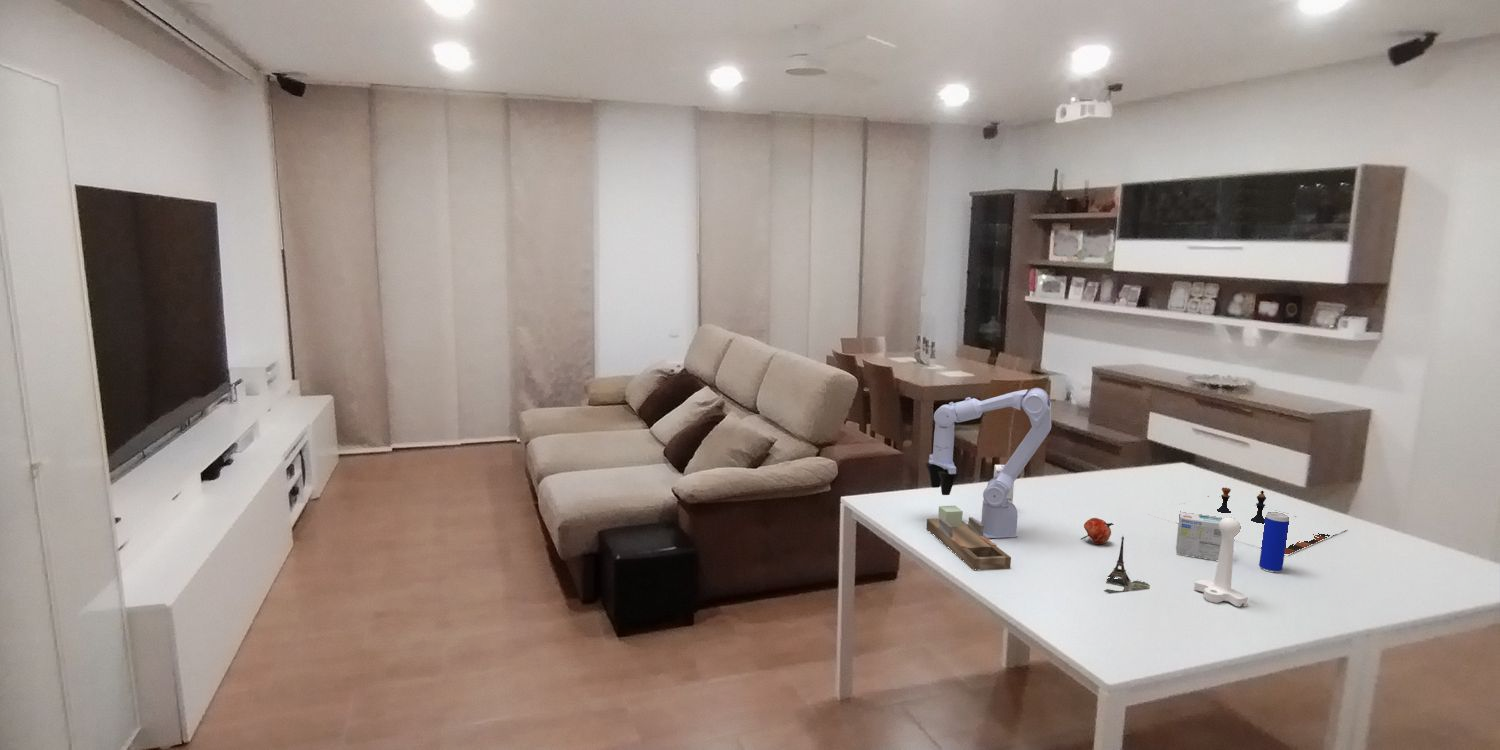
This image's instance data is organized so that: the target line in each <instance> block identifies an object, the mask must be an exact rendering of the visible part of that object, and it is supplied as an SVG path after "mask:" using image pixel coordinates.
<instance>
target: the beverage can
mask: <svg viewBox="0 0 1500 750" xmlns="http://www.w3.org/2000/svg"><path fill="white" fill-rule="evenodd" d="M1283 513H1284V512H1283ZM1283 513H1278V512H1268V513H1267V515H1266V517H1265V525H1264V532H1263V540H1262V547H1261V548H1260V549H1261V550H1260V557H1259V563H1258V566H1259V568H1260V567H1261V568H1262V569H1261V568H1260V569H1261V570H1263V569H1265V570H1268V571H1273V572H1279V573H1280V571H1281V572H1282V571H1283V568H1284V561H1285V555H1284V554H1285V547H1286V540H1287V533H1288V525H1289V517H1288V516H1287V515H1285V514H1283ZM1265 570H1264V571H1265ZM1268 571H1267V572H1268Z"/></svg>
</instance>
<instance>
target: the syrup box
mask: <svg viewBox="0 0 1500 750" xmlns="http://www.w3.org/2000/svg"><path fill="white" fill-rule="evenodd" d="M1005 465H1006V464H994V467H993V468H994V469H993V478H995V477H996V476H998V474H999V473H1000V472H1001V470H1002V469H1003V468H1004V466H1005ZM1014 483H1015V482H1014ZM1014 483H1013V484H1012V486H1011V488H1010V491H1009V493H1008V495H1007V497H1006V499H1007V501H1008V502H1009V503H1012V504H1014V502H1013V501H1014V489H1015V488H1014Z"/></svg>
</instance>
